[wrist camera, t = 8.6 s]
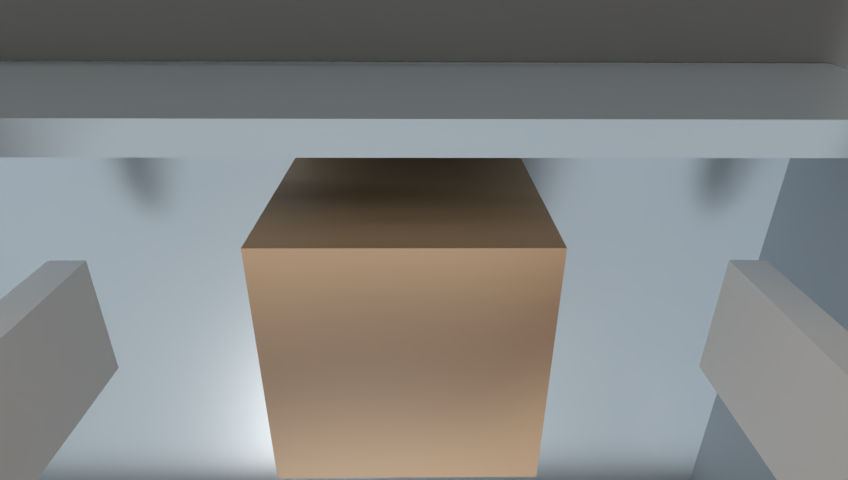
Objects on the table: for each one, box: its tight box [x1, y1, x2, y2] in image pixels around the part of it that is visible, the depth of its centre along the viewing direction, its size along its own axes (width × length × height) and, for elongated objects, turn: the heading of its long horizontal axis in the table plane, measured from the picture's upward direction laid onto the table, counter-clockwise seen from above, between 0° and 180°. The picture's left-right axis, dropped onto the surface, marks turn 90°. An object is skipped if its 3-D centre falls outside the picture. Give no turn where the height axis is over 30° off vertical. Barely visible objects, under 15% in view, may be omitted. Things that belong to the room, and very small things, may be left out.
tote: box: [0, 61, 848, 480], centre depth 14 cm, size 25×17×5 cm
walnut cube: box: [241, 158, 567, 478], centre depth 12 cm, size 5×5×5 cm
